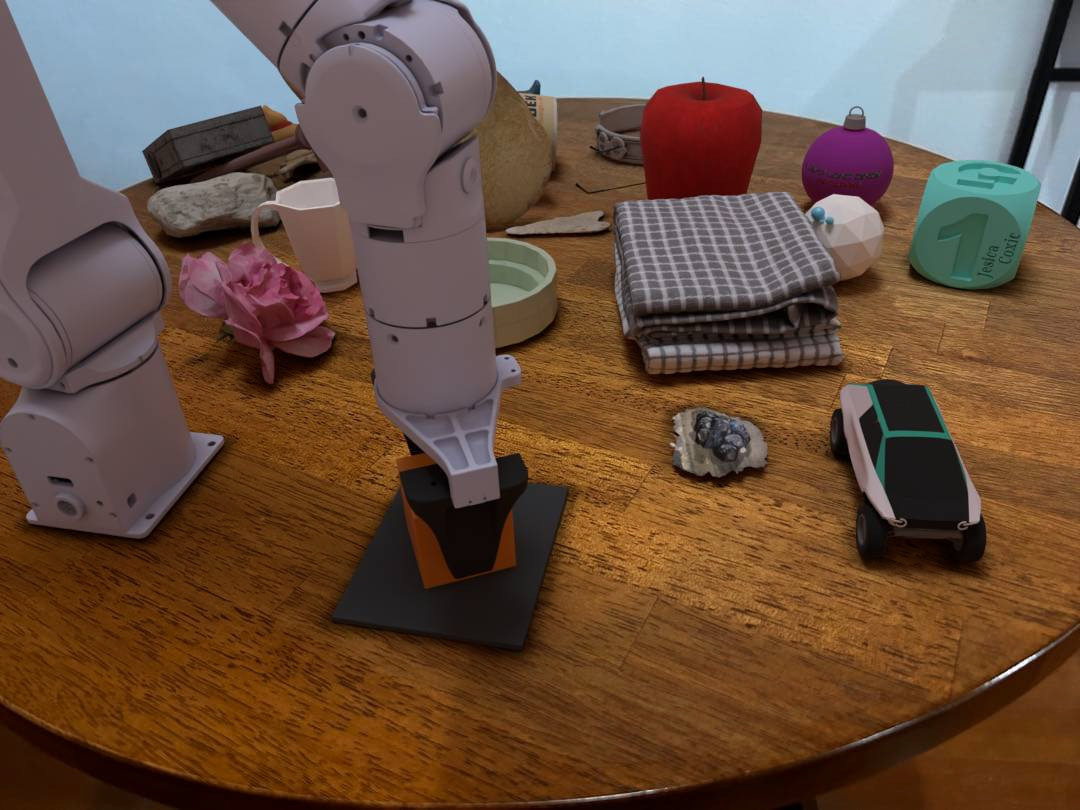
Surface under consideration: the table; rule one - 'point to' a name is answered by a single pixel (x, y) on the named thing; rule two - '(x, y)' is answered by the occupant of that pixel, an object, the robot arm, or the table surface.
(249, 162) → the toilet paper hanger
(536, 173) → the stone
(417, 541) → the block
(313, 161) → the jawbone
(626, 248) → the towel
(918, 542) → the table surface
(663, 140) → the apple
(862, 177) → the christmas ornament
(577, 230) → the stone tool
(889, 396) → the toy car
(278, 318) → the flower
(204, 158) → the grey rectangular box
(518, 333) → the bowl
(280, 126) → the toy
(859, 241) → the ornament
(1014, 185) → the decorative dice
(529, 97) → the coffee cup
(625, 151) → the bracelet
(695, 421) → the blueberries
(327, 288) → the cup
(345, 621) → the mat
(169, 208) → the decorative stone
